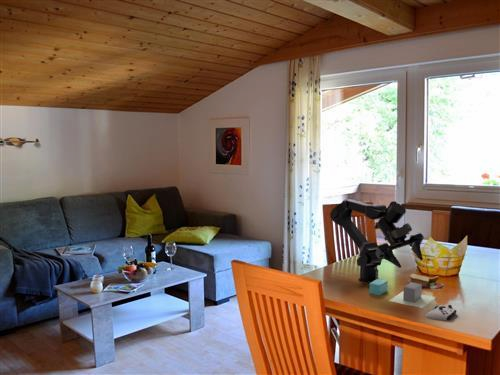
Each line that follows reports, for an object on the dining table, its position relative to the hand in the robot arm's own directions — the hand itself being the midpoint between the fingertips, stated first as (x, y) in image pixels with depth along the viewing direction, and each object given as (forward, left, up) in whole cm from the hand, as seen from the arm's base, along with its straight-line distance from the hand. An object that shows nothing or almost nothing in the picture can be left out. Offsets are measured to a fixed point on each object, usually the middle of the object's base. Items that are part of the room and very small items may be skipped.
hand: (411, 263), depth 175 cm
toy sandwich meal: (+1, +15, -13) cm, 20 cm away
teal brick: (-10, -5, -13) cm, 17 cm away
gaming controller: (+16, -14, -13) cm, 25 cm away
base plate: (+3, -5, -13) cm, 14 cm away
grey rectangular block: (+3, -5, -12) cm, 13 cm away
